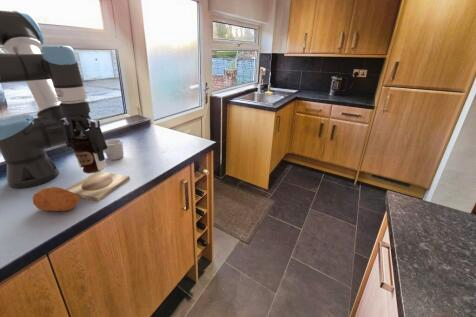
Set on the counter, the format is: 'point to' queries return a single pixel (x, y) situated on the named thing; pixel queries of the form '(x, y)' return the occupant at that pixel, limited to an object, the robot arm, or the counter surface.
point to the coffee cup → (84, 153)
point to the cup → (114, 149)
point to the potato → (55, 199)
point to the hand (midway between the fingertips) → (93, 167)
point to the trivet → (98, 185)
